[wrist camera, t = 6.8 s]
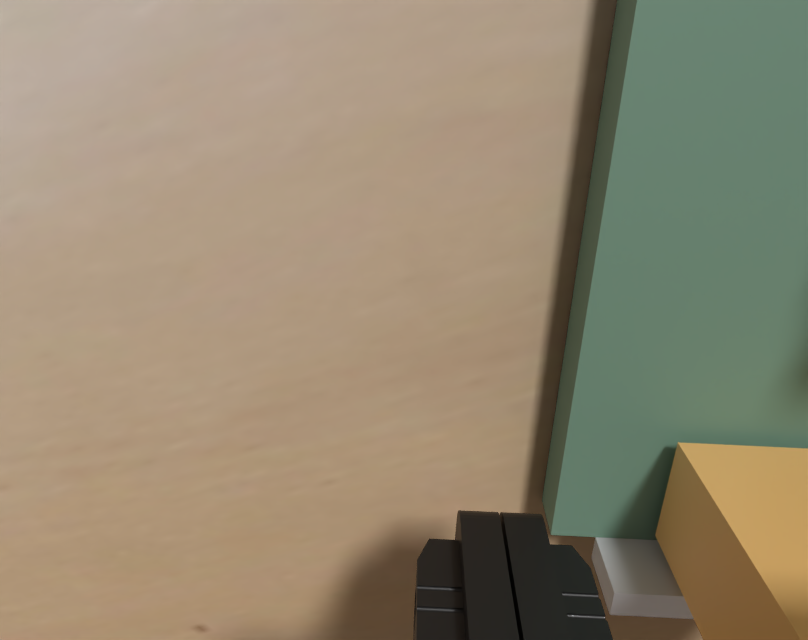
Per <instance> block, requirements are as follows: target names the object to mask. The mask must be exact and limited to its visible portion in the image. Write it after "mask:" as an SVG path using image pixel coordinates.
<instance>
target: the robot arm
mask: <svg viewBox="0 0 808 640" xmlns="http://www.w3.org/2000/svg"><path fill="white" fill-rule="evenodd" d="M413 640H613V638H612V635H611V632H610V629H609V626H608V622H607V621H606V620H605V613H604V610H603V607H602V603H601V600H600V599H599V597H598V591H597V587H596V584H595V581H594V578H593V575H592V571H591V568H590V567H589V566H588V565H587V563H586V562H585V561H584V560H583V559H582V557H581V556H580V555H579V554H578V552H577V551H576V550H575V549H574V548H573V546H571V545H550V543H549V539H548V535H547V531H546V527H545V523H544V519H543V517H542V515H541V514H525V513H504V512H501V513H500V515H499V513H498V512H480V511H458V514H457V523H456V534H455V540H442V539H429V540H428V542H427V544H426V546H425V547H424V549H423V551H422V553H421V554H420V556H419V558H418V560H417V575H416V592H415V609H414V635H413Z"/></svg>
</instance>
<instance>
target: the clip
mask: <svg viewBox="0 0 808 640" xmlns="http://www.w3.org/2000/svg"><path fill="white" fill-rule="evenodd" d="M655 536H656V538H657V540H658V542H659V545H660V547H661V549H662V551H663V553H664V555H665V558H666V560H667V562H668V564H669V566H670V568H671V570H672V573H673V575H674V577H675V579H676V581H677V583H678V586H679V588H680V590H681V592H682V594H683V596H684V599H685V601H686V603H687V605H688V607H689V609H690V612H691V614H692V616H693V618H694V620H695V622H696V625H697V627H698V629H699V631H700V633H701V635H702V638H703V640H808V449H807V448H786V447H765V446H744V445H723V444H701V443H680V442H678V443H677V448H676V452H675V456H674V460H673V464H672V468H671V472H670V476H669V480H668V485H667V489H666V493H665V497H664V501H663V505H662V509H661V513H660V517H659V521H658V526H657V530H656V534H655Z"/></svg>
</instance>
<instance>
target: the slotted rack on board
mask: <svg viewBox="0 0 808 640" xmlns="http://www.w3.org/2000/svg"><path fill="white" fill-rule="evenodd" d="M678 442H680V443H701V444H723V445H744V446H765V447H786V448H807V449H808V0H617V5H616V12H615V18H614V25H613V32H612V38H611V45H610V52H609V58H608V65H607V71H606V78H605V85H604V91H603V98H602V105H601V111H600V118H599V125H598V131H597V138H596V145H595V151H594V158H593V165H592V171H591V178H590V184H589V191H588V198H587V204H586V211H585V218H584V224H583V231H582V238H581V244H580V251H579V258H578V264H577V271H576V277H575V284H574V291H573V297H572V304H571V311H570V317H569V324H568V331H567V337H566V344H565V351H564V357H563V364H562V370H561V377H560V384H559V390H558V397H557V404H556V410H555V417H554V424H553V430H552V437H551V444H550V450H549V457H548V463H547V470H546V477H545V483H544V490H543V497H542V502H543V506H544V510H545V514H546V518H547V522H548V526H549V530H550V534H551V535H562V536H582V537H595V542H594V547H593V552H592V557H591V558H592V561H593V564H594V568H595V571H596V574H597V577H598V580H599V583H600V586H601V589H602V593H603V596H604V599H605V602H606V605H607V608H608V611H609V615H622V616H642V617H661V618H681V619H694V618H693V616H692V614H691V612H690V609H689V607H688V605H687V603H686V601H685V599H684V596H683V594H682V592H681V590H680V588H679V586H678V583H677V581H676V579H675V577H674V575H673V573H672V570H671V568H670V566H669V564H668V562H667V560H666V558H665V555H664V553H663V551H662V549H661V547H660V545H659V542H658V540H657V538H656V536H655V534H656V530H657V526H658V521H659V517H660V513H661V509H662V505H663V501H664V497H665V493H666V489H667V485H668V480H669V476H670V472H671V468H672V464H673V460H674V456H675V452H676V448H677V443H678Z"/></svg>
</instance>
